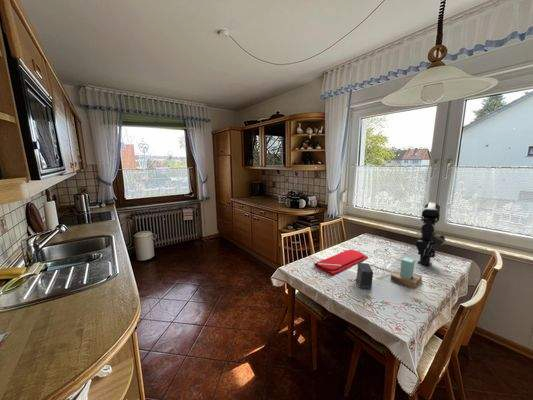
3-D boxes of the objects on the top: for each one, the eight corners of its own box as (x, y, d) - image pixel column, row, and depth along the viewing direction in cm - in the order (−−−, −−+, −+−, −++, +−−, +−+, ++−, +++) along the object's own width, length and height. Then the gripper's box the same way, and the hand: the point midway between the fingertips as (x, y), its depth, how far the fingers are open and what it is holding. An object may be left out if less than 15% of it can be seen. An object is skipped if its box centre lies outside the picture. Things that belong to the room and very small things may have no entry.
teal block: (403, 272, 132) (405, 257, 130) (412, 276, 128) (414, 260, 127) (400, 275, 129) (401, 259, 127) (409, 279, 125) (411, 262, 124)
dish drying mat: (368, 258, 159) (368, 254, 158) (332, 277, 135) (333, 271, 134) (348, 251, 171) (349, 247, 170) (313, 267, 147) (313, 262, 146)
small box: (372, 289, 121) (374, 272, 119) (359, 288, 122) (361, 271, 120) (367, 279, 131) (369, 263, 129) (356, 278, 132) (357, 262, 130)
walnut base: (398, 273, 138) (399, 268, 137) (421, 281, 129) (421, 276, 128) (390, 279, 130) (391, 275, 130) (413, 288, 121) (414, 283, 121)
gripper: (439, 236, 119) (435, 263, 121) (449, 230, 130) (446, 255, 132) (416, 231, 127) (412, 256, 130) (427, 226, 139) (424, 249, 141)
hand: (424, 254), depth 133 cm, fingers open, 9 cm apart
